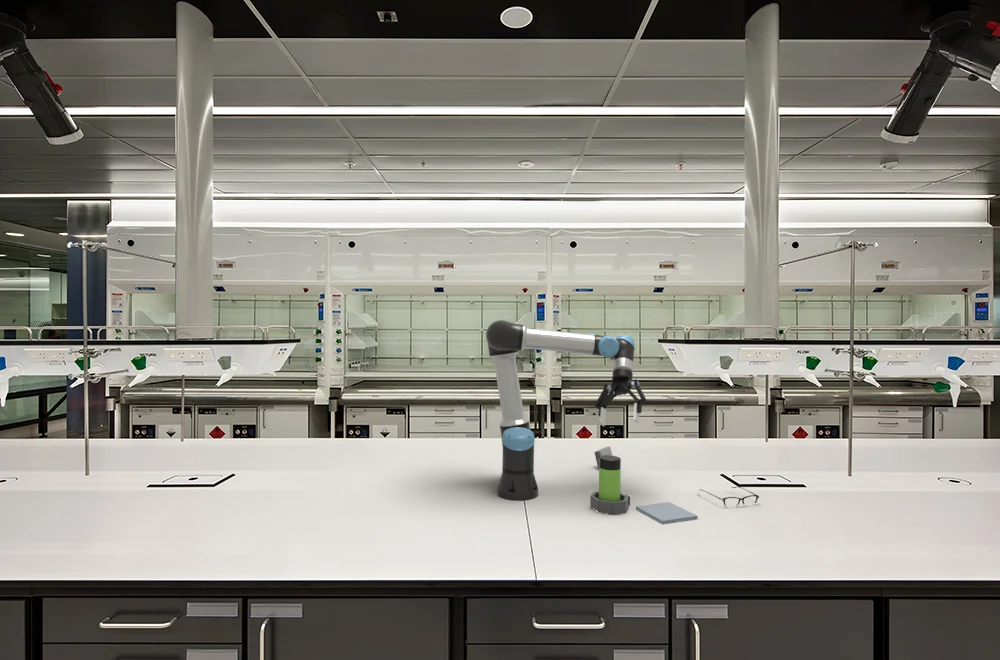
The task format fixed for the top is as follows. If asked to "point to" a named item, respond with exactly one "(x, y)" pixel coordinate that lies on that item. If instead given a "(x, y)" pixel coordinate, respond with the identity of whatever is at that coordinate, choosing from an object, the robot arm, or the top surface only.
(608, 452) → the electrical switch
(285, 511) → the top surface
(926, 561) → the top surface
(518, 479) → the robot arm
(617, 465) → the green bottle
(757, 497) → the eyeglasses
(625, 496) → the strap ring
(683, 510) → the pad
